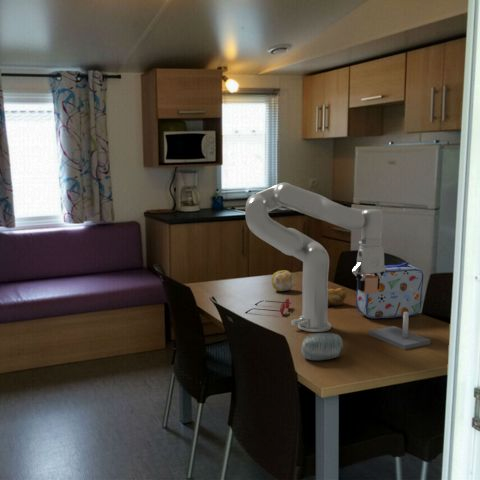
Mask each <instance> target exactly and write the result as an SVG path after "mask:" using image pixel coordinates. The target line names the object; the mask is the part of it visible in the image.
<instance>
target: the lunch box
mask: <svg viewBox="0 0 480 480" xmlns="http://www.w3.org/2000/svg"><path fill="white" fill-rule="evenodd" d="M384 265H385V264H384ZM385 266H386V268H387V269H386V270H385V272H384V274H383V275H382V276H381V279H380V285H379V289H377V293H375V294H365V293H361V292H359V290H358V280H357V281H356V282H357V283H356V302H355V304H356V310H357V311H358V312H359V313H361V314H364V315H365V316H366V317H368V318H370V319H390V318H391V319H394V318H395V319H396V318H401V317H402V318H403V313H404V312H408V313H409V317H410V316H415V315H417V314H419V313H420V311H421V308H422V303H423V302H422V301H423V286H424V272H423V270H421V269H420V268H417V267H414V266H413V265H411V264H410V263H409V262H403V263H400V264H389V265H385ZM361 275H362V274H361ZM370 275H374V274H373V273H372V274H370Z"/></svg>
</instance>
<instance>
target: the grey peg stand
mask: <svg viewBox="0 0 480 480" xmlns="http://www.w3.org/2000/svg"><path fill="white" fill-rule="evenodd" d="M409 317H410V316H409V313H408V312H404V313H403V317H402V328H400V327H398V326H395V325H391V326H387V327H383V328H382V327H381V328H377V329H372V330H368V336H370V337H373V338H375V339H378V340H380V341H383V342H384V343H387V344H388V345H389V344H390V345H391V346H395V347H397V348H399V349H401V350H409V349H413V348H418V347H419V348H420V347H423V346H427V345H430V344H431V339H429V338H427V337H424V336H421V335H418V334H416V333H414V332H411V331H409Z"/></svg>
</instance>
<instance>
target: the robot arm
mask: <svg viewBox="0 0 480 480" xmlns="http://www.w3.org/2000/svg"><path fill="white" fill-rule="evenodd" d="M282 207H285V208H288V209H290V210H291V211H296V212H298V213H300V214H304V215H306V216H310V217H312V218H314V219H317V220H321V221H323V222H325V223H326V222H327V223H329V224H332V225H335V226H337V227H340V228H343V229H346V230H348V231H352V232H353V231H354V232H355V231H356V232H357V231H359V230H360V231H361V232H360V240H358V243H359V244H360V245H359V246H358V251H357V257H356V264H355V266H354V267H353V268H352V270H351V272H352V274H353V275H354V276H355V278H356V280H357V281H358V290H360V291H364V290H365V281H364V278H365V275H366V274H372V273H373V274H374V275H376V276H378V287H377V289H379V285H380V279H381V276H382V275H383V274H384V272H385V270H386V269H387V268H386V266H385V251H384V247H383V245H382V239H383V221H384V219H383V218H384V213H383V211H382V210H381V209H377V208H366V209H365V208H364V209H362V208H356V207H348V206H345V205H343V204H340V203H338V202H335V201H333V200H331V199H329V198H327V197H325V196H323V195H322V194H319V193H317V192H313V191H310V190H307V189H304V188H302V187H300V186H297V185H294V184H290V183H289V182H285V181H284V182H280V183H278V184H275V185H273V186H271V187H269V188H266V189H264V190H261V191H259V192H257V193H254V194H251V195H250V196H249V197H248V198H247V200H246V203H245V212H244V213H245V222H246V225H247V227H248V229H249V231H251V233H252V234H254V235H255V236H256V237H258V238H259V239H260V240H262V241H263V242H265V243H267V244H269V245H270V246H272V247H274V248H275V249H276V250H278V251H280V252H281V253H282V254H284V255H286V256H290V257H294V258H296V259H298V260H299V261H300V262H302V280H301V281H302V282H301V283H302V286H301V288H302V290H301V291H302V293H301V294H302V297H301V298H302V299H301V302H302V304H301V305H302V306H301V315H299V317H298V318H297V319H291V321H290V324H291V326H296V325H297V327H298V329H299V330H302V331H305V332H311V333H324V332H327V331H329V330H331V329H332V324H331V322H329V321H328V307H329V306H328V290H329V288H328V287H329V286H328V285H329V271H330V269H329V268H330V256H329V253H328V251H327V249H325V247H324V246H323V245H322V244H321V243H319V242H318V241H316V240H314V239H313V238H311V237H310V236H308V235H306V234H304V233H303V232H301V231H299V230H297V229H296V228H293V227H286V226H284V225H283V224H281V223H280V222H278V221H277V220H274V219H272V217H270V215H269V212H271V211H274V210H277V209H278V208H282ZM361 274H362V276H361Z"/></svg>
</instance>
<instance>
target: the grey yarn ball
mask: <svg viewBox="0 0 480 480" xmlns="http://www.w3.org/2000/svg"><path fill="white" fill-rule="evenodd" d="M343 347H344V341H343V339H342V337H341V336H340V335H339V334H337V333H333V332H316V333H313V334H309V335H307V336H306V337H305V338H304V339H303V341H302V343H301V354H302V356H303V357H304V358H305V359H306V360H308V361H324V360H325V361H326V360H331V359H336V358H338V357H340V355H341V354H342V353H343V352H342V351H343Z"/></svg>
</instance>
